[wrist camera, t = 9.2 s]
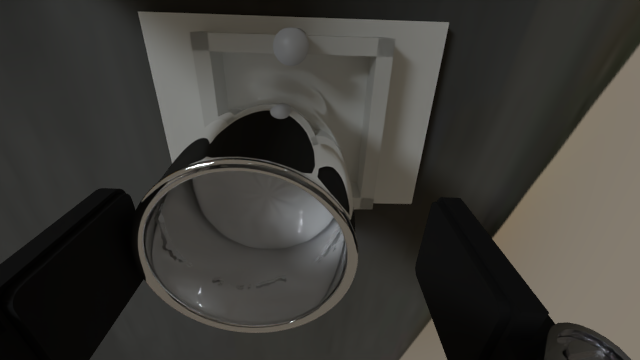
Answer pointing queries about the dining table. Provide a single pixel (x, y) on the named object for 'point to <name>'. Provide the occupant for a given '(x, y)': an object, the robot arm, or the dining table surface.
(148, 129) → the dining table surface
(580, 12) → the dining table surface
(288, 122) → the beer glass
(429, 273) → the robot arm
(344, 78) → the tray
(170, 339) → the dining table surface
